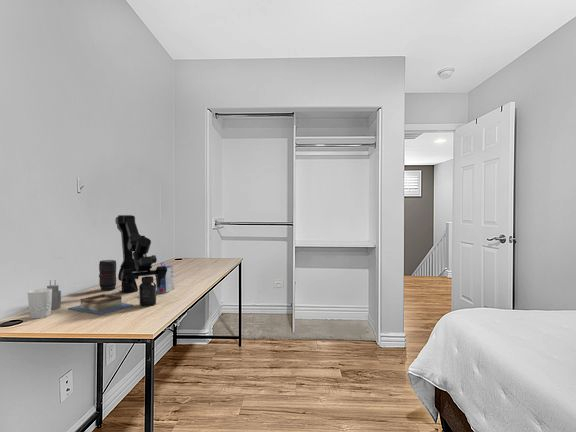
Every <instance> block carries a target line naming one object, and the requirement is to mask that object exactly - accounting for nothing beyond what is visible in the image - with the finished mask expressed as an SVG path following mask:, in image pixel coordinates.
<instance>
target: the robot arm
mask: <svg viewBox="0 0 576 432" xmlns="http://www.w3.org/2000/svg"><path fill="white" fill-rule="evenodd" d="M114 220H115V225H116V227H117V230H118V231H119V232H120V236H121V247H122V258H123V259H122V262H121V264H120V268H119V270H118V271H119V272H118V275H117V277H118V280H119V281H121V289H120V290H118V292H119V293H124V294H125V293H126V294H130V293H132V292H133V293H134V292H139V289H138V288H139V287H138V285H137V282H136V280H139V278H140V277H146V276H155V283H156V282H157V286H158V288H160V282H161V279H163V278H164V277H165V275H166V272H167V267H166V266H167V265H165V266H161V265H160V266H159V265H158V266H156V269H153V268H152V267H153V265H154V264H156V262H157V261H158V260H157V255H156V254H155V255H154V254H153V255H151V256H147V254H148V253H149V250H150V248H151V244H152V240H151V239H150V238H148V237H146V236H145V235H141V234H140V233H139V230H138V227H137V224H136V217H135V215H131V214H124V215H123V214H122V215H121V214H120V215H119V214H118V215H117V216H116V217H115V219H114ZM151 269H152V270H151ZM157 286H156V287H157Z"/></svg>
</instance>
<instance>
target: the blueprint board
mask: <svg viewBox="0 0 576 432" xmlns="http://www.w3.org/2000/svg"><path fill="white" fill-rule="evenodd" d="M134 306H135V304H133V303H125V302H122V305H119V306H115V307H111V308H108V309H104V310H100V311H96V310H90V309H84V308H81V304H80V305H75V306H72V307H68V308H67V310H70V311H76V312H80V313H88V314H93V315H97V316H102V315H106V314H108V313H111V312H116V311H119V310H123V309H127V308H132V307H134Z"/></svg>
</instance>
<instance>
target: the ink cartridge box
mask: <svg viewBox="0 0 576 432" xmlns="http://www.w3.org/2000/svg"><path fill="white" fill-rule="evenodd" d="M160 266H166V267H167V272H166V275H165V277H164V278H163V279H161V282H160V288H158V286H157V282H156V281H155V284H156V294H157V293H158V294H166V293H167V294H168V292H171V291H172V290H174V289H175V283H174V282H175V280H174V265H166V264H165V262H164V261H163V262H160Z"/></svg>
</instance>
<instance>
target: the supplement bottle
mask: <svg viewBox="0 0 576 432" xmlns="http://www.w3.org/2000/svg"><path fill="white" fill-rule="evenodd" d="M138 288H139V289H138V293H139V294H138V295H139V296H138V297H139V298H138V299H139V306H141V307H151V306H155V305H156V304H157V286H156V282H154V275H149V276H141V283H140V284H139V287H138Z"/></svg>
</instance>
